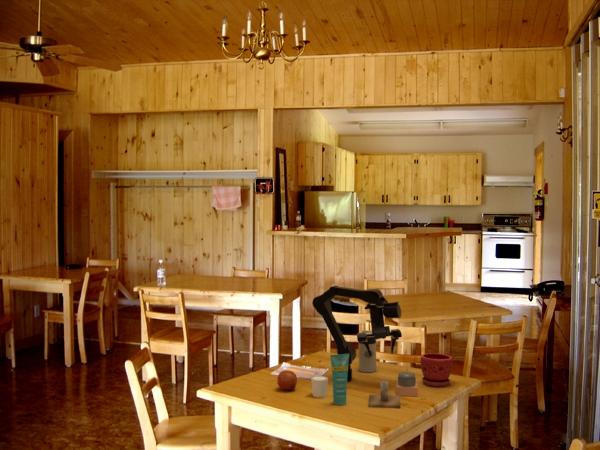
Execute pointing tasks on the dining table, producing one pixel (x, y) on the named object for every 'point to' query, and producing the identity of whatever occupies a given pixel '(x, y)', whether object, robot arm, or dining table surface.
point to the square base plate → (384, 398)
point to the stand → (406, 390)
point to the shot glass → (319, 386)
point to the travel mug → (367, 355)
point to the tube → (339, 377)
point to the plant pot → (436, 369)
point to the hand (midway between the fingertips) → (381, 355)
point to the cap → (406, 379)
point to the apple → (287, 380)
